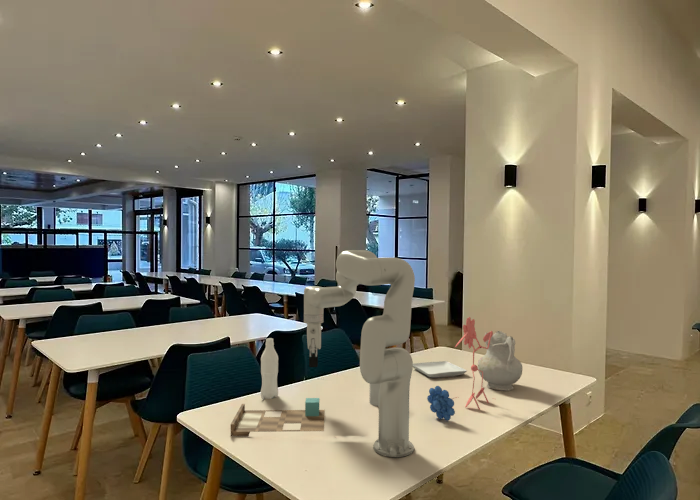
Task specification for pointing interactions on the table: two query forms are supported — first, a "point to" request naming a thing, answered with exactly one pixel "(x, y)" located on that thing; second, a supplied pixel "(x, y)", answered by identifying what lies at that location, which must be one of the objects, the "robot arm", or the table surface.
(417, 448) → the table surface
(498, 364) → the ceramic pitcher
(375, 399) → the cup
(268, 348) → the water bottle
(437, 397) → the grapes
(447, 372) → the salad plate
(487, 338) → the pink stick figure
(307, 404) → the block
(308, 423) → the board
